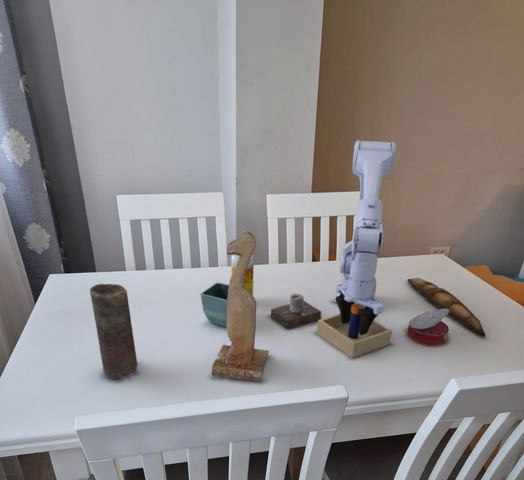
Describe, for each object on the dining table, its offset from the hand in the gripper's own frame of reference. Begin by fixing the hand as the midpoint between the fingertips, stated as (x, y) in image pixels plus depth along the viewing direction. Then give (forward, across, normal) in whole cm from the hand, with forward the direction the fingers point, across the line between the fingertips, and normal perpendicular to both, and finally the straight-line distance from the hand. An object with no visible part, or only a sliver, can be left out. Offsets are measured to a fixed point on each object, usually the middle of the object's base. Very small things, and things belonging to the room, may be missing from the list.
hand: (354, 328), depth 120 cm
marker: (+2, 0, 0) cm, 2 cm away
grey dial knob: (+1, -16, -6) cm, 18 cm away
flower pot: (+3, -24, -24) cm, 34 cm away
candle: (+3, -16, -55) cm, 57 cm away
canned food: (+3, +8, +18) cm, 20 cm away
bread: (+3, -1, +35) cm, 36 cm away
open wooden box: (+3, 0, 0) cm, 3 cm away
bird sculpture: (+3, -4, -31) cm, 31 cm away
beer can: (+3, -32, -14) cm, 35 cm away
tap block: (+3, -16, -6) cm, 18 cm away
